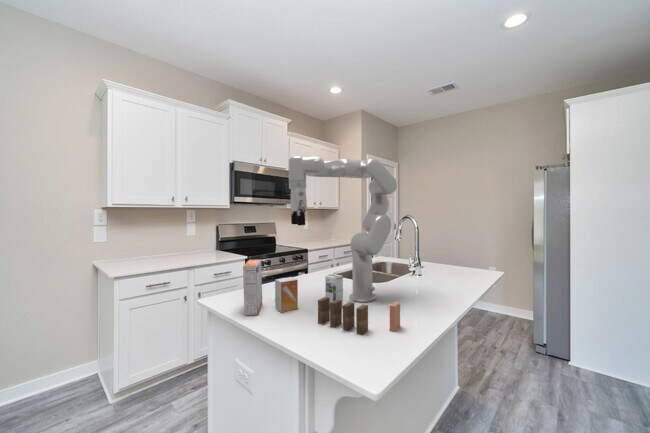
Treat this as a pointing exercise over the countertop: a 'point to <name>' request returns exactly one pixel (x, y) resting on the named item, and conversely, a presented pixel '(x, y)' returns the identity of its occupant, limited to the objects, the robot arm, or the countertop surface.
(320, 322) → the domino
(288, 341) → the countertop surface
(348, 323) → the domino
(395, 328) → the domino
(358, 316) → the domino
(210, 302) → the countertop surface
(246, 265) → the cracker box
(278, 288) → the small box
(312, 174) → the robot arm
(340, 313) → the domino
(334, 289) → the syrup box
